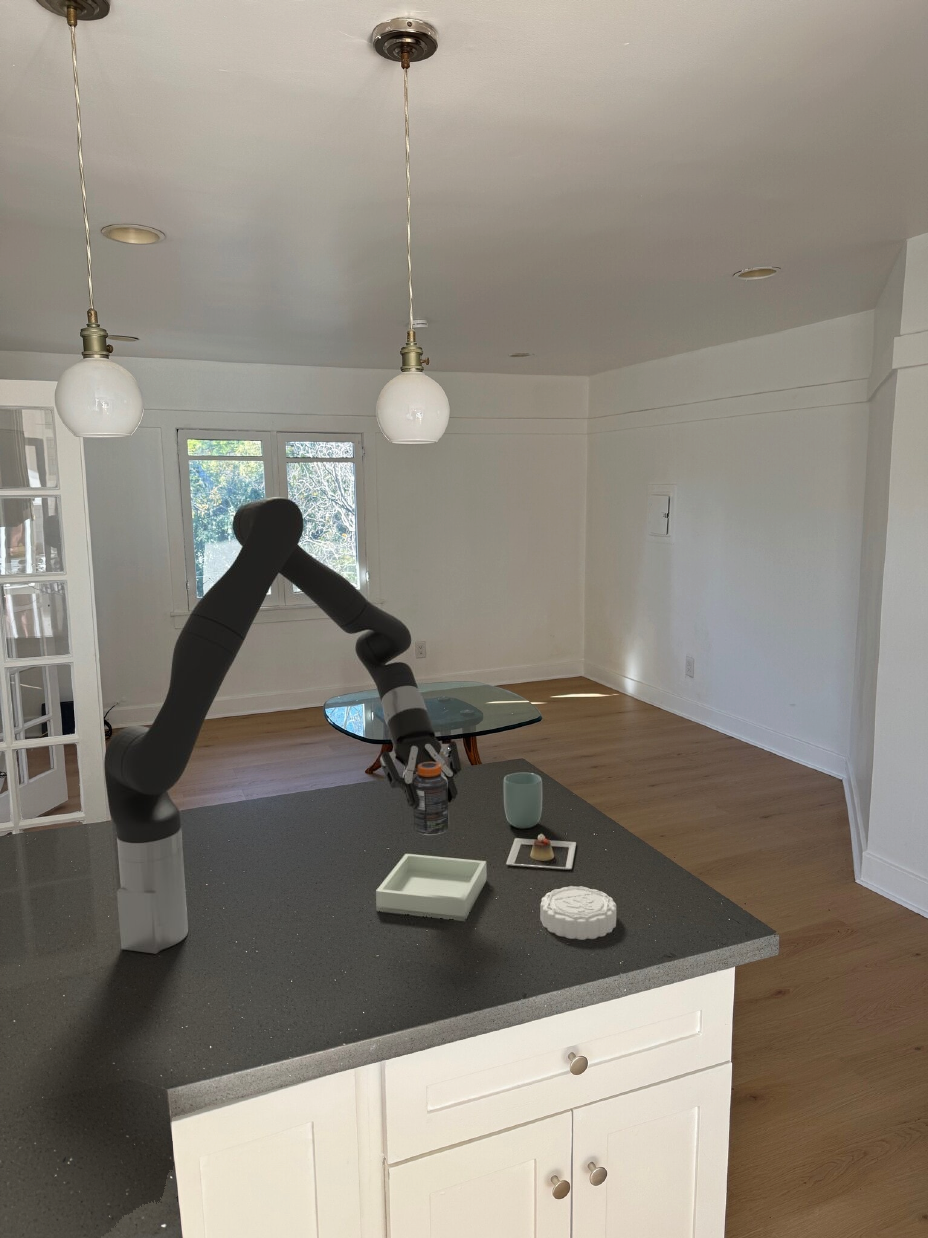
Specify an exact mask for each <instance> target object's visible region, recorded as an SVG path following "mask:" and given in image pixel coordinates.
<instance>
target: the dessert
mask: <svg viewBox="0 0 928 1238" xmlns="http://www.w3.org/2000/svg"><path fill="white" fill-rule="evenodd" d="M546 835H547V834H545V835H544V834H543V833H540V834H538V836H537V839H533V838H520V837H518V838H517V837H515V838H514V840H513V844H512V845H511V848H510V852H509V855H508V857H507V860H506V863H505V865H508V866H511V867H512V866H513V867H524V868H525V867H526V868H538V869H540V868H541V869H552V870H553V869H554V870H567V871H568V870H572V869H573V863H574V858H575V853H576V847H577V846H576V845H577V842H576V841H565V840H564V841H562V840H550V839H548V838H546ZM521 845H527V846H528V845H530V846H531V845H532V848H531V852H530V858H531V859H533V860H535V861H543V862H545V861H550V860H552V859H554V857H555V854H554V851H553V848H552V847H559V848H560V847H561V848H562V847H563V848H568V852H567V853H568V854H567V857H566V858H567V859H566V864H565V866H549V865H535V864H524V863H523V864H521V863H515V862H516V859H517V856H518V854H519V851H520V848H521Z"/></svg>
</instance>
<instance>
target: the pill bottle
mask: <svg viewBox="0 0 928 1238" xmlns="http://www.w3.org/2000/svg"><path fill="white" fill-rule="evenodd" d="M441 772H442V767H441V764H440V763H438V762H424V763H420V764H419V765H418V772H417V775H416V776H415V777H413V778H412V782H411V783H412V784H414V786H415V789H416V793H417V796H418V799H419V803H420V804H419V807H418V808H417V809H412V810H413V829H414V832H416V833H418V834H421V835H425V836H434V835H436V836H437V835H440V834H443V833H445V832H447V831H448V830H449V828H450V817H449V812H450V811H449V802H448V781H447V778H446V777H445V776H444V775H442V774H441Z"/></svg>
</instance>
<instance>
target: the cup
mask: <svg viewBox="0 0 928 1238" xmlns="http://www.w3.org/2000/svg"><path fill="white" fill-rule="evenodd" d="M503 807H504V813H505V817H506V819H507V822H508V823H509V824H510V825H511V826H513V827H514V828H518V829H529V828H533V827H535V826H536V825H538V823H539V822H540V819H541V817H542V816H541V815H542V812H543V811H542V810H543V780H542V777H541V776H540V775H538V774H536V773H532V772H524V771H523V772H515V773H510V774H507V775H505V776H504V778H503Z"/></svg>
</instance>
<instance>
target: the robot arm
mask: <svg viewBox="0 0 928 1238" xmlns="http://www.w3.org/2000/svg"><path fill="white" fill-rule="evenodd" d="M232 531H233V535H234V537H235V539H236V541H237V542H238V544H239V545H240V546H241V548H240V550H239V553H238V554H237V556H236V558H235V560H234V561H233V563H232V564H231V565H230V567H229V568H228V569H227V570H226V572H225V573H224V574H222V576H221V577H220V578H219V579H217V581H215V583H214V584H213V585H212V586H211V587H210V588H209V589H208V591H207V592H206V593H204V595H203V596H202V598H201V599H200V600H199V601H198V602H197V603H196V605H195V606H194V608H193V609H192V611H191V612H190V615H189V616H188V618H187V619H186V622H185V623H184V626H183V627H182V629H181V631H180V634H179V635H178V638H177V640H176V642H175V644H174V647H173V654H172V660H171V668H170V669H171V670H170V678H169V679H170V681H169V687H168V692H167V694H166V696H165V699H164V701H163V704H162V706H161V708H160V709H159V712H158V713H157V715H156V717H155V718H154V720H153V722H152V724H151V725H150V727H147V726H144V725H143V726H142V725H131V726H127V727H125V728H123V729H121V730H119V731H117V733H115V734H114V735H113V736H112V737H111V739H110V740H109V742H108V745H107V747H106V750H105V754H104V762H103V764H104V765H103V766H104V767H103V768H104V769H103V770H104V778H105V780H104V781H105V786H106V795H107V803H108V809H109V811H108V812H109V815H110V816H111V817H110V818H111V820H112V822H113V824H114V826H115V830H116V831H115V833H116V842H117V854H118V855H117V857H118V867H119V869H118V870H119V878H120V879H119V881H120V888H119V889H117V891H116V893H117V894H116V895H117V896H116V897H117V907H118V918H119V919H118V921H119V922H118V923H119V933H120V946H121V950H126V951H131V952H132V951H134V952H142V953H147V954H148V953H149V954H158V953H159V952H160V951H162V950H164V949H168V948H170V947H173V946H175V945H176V944H179V943H180V942H182V941H184V939H185V938H186V936H187V935H188V933H189V925H188V911H187V910H188V908H187V898H186V897H187V895H186V894H187V893H186V883H185V882H186V879H185V866H184V853H183V852H184V851H183V836H182V834H183V833H182V820H181V813H180V809H179V808H178V806H177V805H176V803H174V801H173V800H172V799H171V797H170V795H169V792H168V791H169V790H170V789H172V788H173V787H174V786H175V785H176V784H177V782H178V781H179V780H180V779H181V777H182V775H183V773H184V771H185V769H186V768H187V765H188V763H189V760H190V758H191V755H192V753H193V751H194V748H195V746H196V742H197V739H198V737H199V734H200V731H201V728H202V726H203V725H204V721H205V719H206V717H207V715H208V713H209V711H210V709H211V706H212V704H213V702H214V700H215V699H216V697H217V694H218V692H219V690H220V689H221V686H222V684H223V682H224V680H225V678H226V676H227V674H228V672H229V670H230V669H231V666H232V665H233V663H234V662H235V660H236V659H235V658H236V657H237V656H238V654H239V651H240V650H241V647H242V646H243V644H244V642H245V640H246V637H247V635H248V633H249V630H250V629H251V627H252V624H253V623H254V621H255V619H256V617H257V615H258V613H259V611H260V609H261V607H262V605H263V603H264V601H265V599H266V596H268V595H267V594H268V593H269V590H270V589H271V587H272V585H273V583H274V581H275V580H276V579H277V577H278V575H279V574H280V575H281V576H282V577H283V578H285V579H286V580H288V581H289V582H290V583H291V584H293V585H294V586H295V587H296V588H297V589H299V590H300V591H301V592H302V593H303V594H305V596H307V597H308V598H309V599H310V601H311V600H312V602H313V603H314V604H315V605H316V606H318V607H319V609H321V610H322V611H323V612H324V614H326V615H327V616H328V617H329V618H330V619H331V620H332V621H333V623H334V624H336V625H337V626H338V627H339V628H340V629H341V630H342V631H343V632H345V633H347V634H349V635H351V634H353V635H354V634H357V633H361V632H364V631H365V632H364V633H362V634H361V635H359V637H358V638H356V639H357V640H356V642H355V654H356V656H357V658H358V660H360V662H361V664H363V666H364V667H365V669H366V670H367V672H368V674H369V675H370V677H371V678H372V680H373V682H374V685H376V689H377V692H378V696H379V698H380V701H381V702H380V703H381V706H382V712H383V716H384V717H383V718H384V722H385V723H386V725H387V726H386V727H387V729H388V732H389V736H390V739H391V742H392V746H393V748H394V750H393V751H390V752H389V751H385V750H384V751H383V752H382V753H381V756H380V758H379V761H378V762H379V764H380V766H381V768H382V771H383V773H384V775H385V777H386V779H387V782H388V784H389V785H390V787H391V789H394V790H395V789H396V788H398V789H401V790H402V791H403V793H404V796H405V800H406V803H407V805H408V806H409V807H411V808H412V810H413V809H417V808H418V807H419V804H420V803H419V799H418V796H417V793H416V789H415V786H414V784H412V782H413V778H414V777H413V776H414V773H418V765H419V764H420V763H424V762H438V763H440V764H441V767H442V772H441V774H442V775H444V776H445V777H446V778H447V781H448V804H450V803H451V804H452V803H454V802H455V801H456V799H457V796H458V794H459V793H458V792H459V791H458V789H457V786H456V784H455V780H454V779H456V778H458V776H459V774H460V772H462V766H461V761H460V755H459V751H458V746H457V742H455V741H454V740H452V741H450V742H449V743H441V742H439V740H438V739H437V738H436V733H435V729H434V726H433V724H432V721H431V718H430V715H429V712H428V709H427V705H426V704H425V701H424V698H423V696H422V694H421V693H420V690H419V687H418V684H417V681H416V679H415V676H414V673H413V670H412V668H411V666H410V665H408V664H407V663H406V662H402V661H397V662H391V661H392V660H395V659H396V658H397V657H399V656H400V655H402V654H404V653H405V652H407V650H409V648H410V647H411V645H412V636H411V632H410V630H409V629H408V627H407V626H406V625H405V623H403V622H402V621H401V620H400V619H399V618H397V617H396V616H394V615H392V614H390V613H389V612H387V611H384V610H382V609H381V608H379V607H378V606H376V605H375V604H373V603H372V602H370V601H369V600H368V599H367V598H366V597H365V596H364V595H363V594H362V593H361V592H360V591H359V590H358V589H357V588H356V587H355V586H354V585H353V584H352V583H351V582H350V580H348V579H346V578H345V577H344V576H343V575H341V574H340V573H339V572H337V571H335V570H334V569H332V568H331V567H329V566H327V565H325V564H324V563H323V562H321V561H320V560H318V559H317V558H315V557H314V556H312V555H311V553H309V552H307V551H306V550H305V549H304V548H302V546H300V545H299V542H300V541H301V538H302V535H303V531H304V516H303V513H302V511H301V508H300V506H299V505H298V504H297V503H296V502H294V501H293V500H292V499H290V498H287V497H282V496H272V497H266V498H261V499H257V500H251V501H249V502H246V503H245V504H243V505H242V506H240V507H239V508H238V509H237V510H236V511H235V513H234V517H233V519H232ZM389 662H390V663H389ZM440 752H441V753H443V755H444V757H445V758H447V763H448V766H447V763H446V762H445V759H443V758H442V757H441V755H440ZM395 760H396V761H398V762H399V763H400V764H401V765H403V766H404V769H403V774H402V777H401V776H400V774H399V772H398V769H397V767H396V765H395V762H396V761H395Z"/></svg>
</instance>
